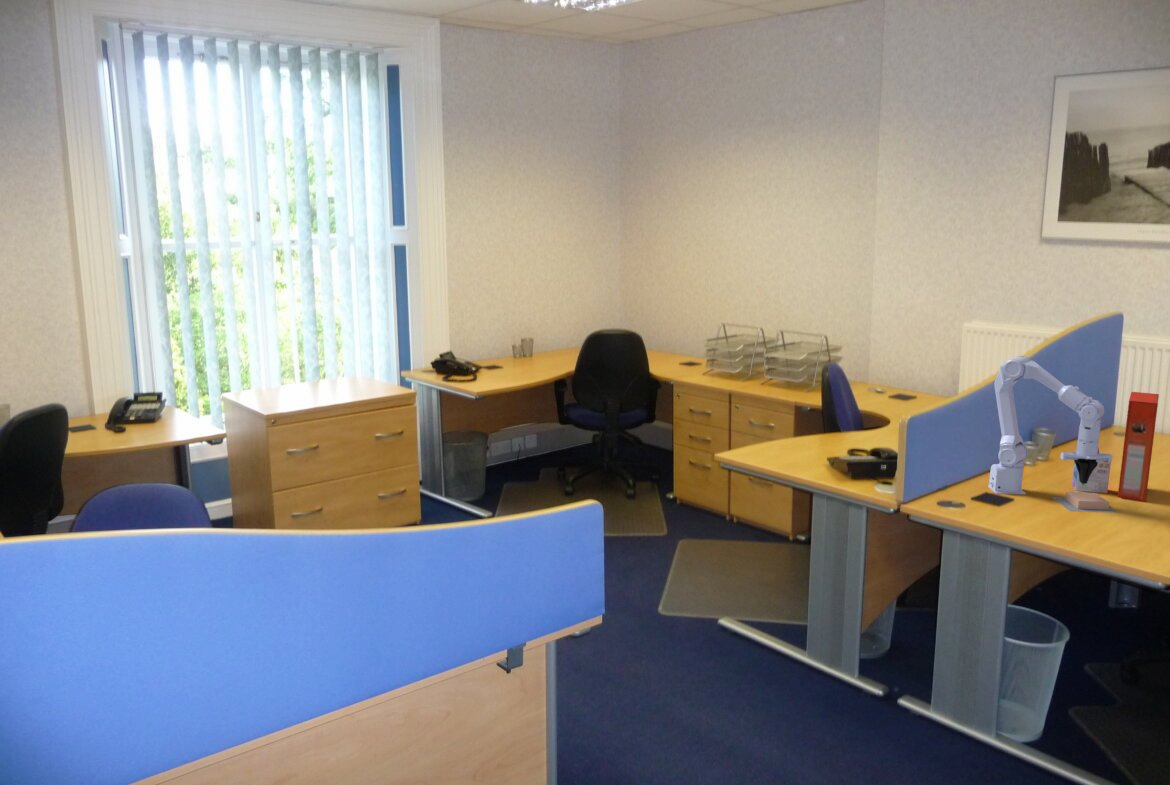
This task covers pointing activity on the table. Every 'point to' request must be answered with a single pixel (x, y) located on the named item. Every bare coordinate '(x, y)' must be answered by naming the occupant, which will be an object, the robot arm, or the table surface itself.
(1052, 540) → the table surface
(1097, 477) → the ink cartridge box
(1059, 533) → the table surface
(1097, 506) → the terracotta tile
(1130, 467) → the file binder
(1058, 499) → the desk mat
